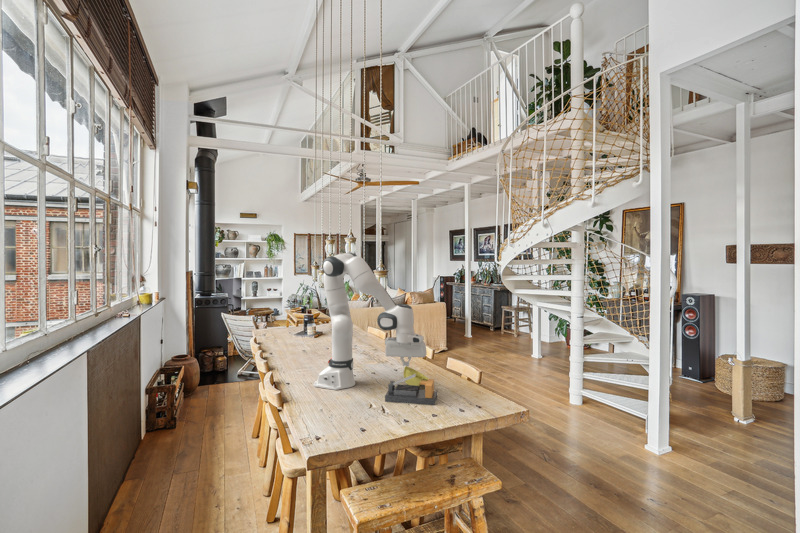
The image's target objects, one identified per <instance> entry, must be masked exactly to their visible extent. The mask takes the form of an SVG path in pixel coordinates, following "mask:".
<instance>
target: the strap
mask: <svg viewBox="0 0 800 533" xmlns="http://www.w3.org/2000/svg"><path fill="white" fill-rule="evenodd" d="M415 376H416V374H413V375H411V376H408V377H406V378H404V377H403V378H401V379H399V380H395V382H394V383H391V384H393V385H396V386H397V384H401V383H403V382H405V381H406V380H408V379H411V378H413V377H415Z"/></svg>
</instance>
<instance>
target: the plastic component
mask: <svg viewBox="0 0 800 533" xmlns="http://www.w3.org/2000/svg"><path fill="white" fill-rule="evenodd" d="M413 374H416V376H415V377H413V378H411V379H408V380H406V381H404V382H405V385H415V386H419V387H421V384H420V382H421V381H427V380H428V379H430V378H429V377H428V376H426V375H425V374H423V373H422V372H420V371H418V370H417V369H414V368H411V367H410V366H404V369H403V378H406V377H408V376H411V375H413Z"/></svg>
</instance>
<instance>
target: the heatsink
mask: <svg viewBox="0 0 800 533" xmlns="http://www.w3.org/2000/svg"><path fill="white" fill-rule="evenodd" d="M394 382H396V380H390V383H388V385H387V386H388V387H387V388H388V390H387V392H386V393H385V395H384V402H389V403H397V404H398V403H400V404H410V405H411V404H413V405H423V406H425V405H426V406H435V405H436V403H437V399H438V391H437V390H434V393H433V396H432V398H425V389H420V386H415V385H408V384H401V383H398V384H396V386H395V385H393V384H391V383H394Z"/></svg>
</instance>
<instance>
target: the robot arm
mask: <svg viewBox="0 0 800 533" xmlns="http://www.w3.org/2000/svg"><path fill="white" fill-rule="evenodd" d="M321 266H322V271H323V275H322V276H323V277H322V280H323V289H324V294H325V298H326V299H325V300H326V303H327V308H328V311H329V318H330V321H331V357H330V358H329V359H328V361H327V364H328V365H327V366H326V367H325V368H324V369H323V370H321V371H320V372H319V373H318V377H317V380H315V381H314V382H313V387H314V388H322V389H327V390H333V391H338V390H341V389H348V388H352V387H354V386H356V380H355V376H354V358H353V337H354V336H353V332H354V331H353V330H354V328H353V326H354V324H353V323H354V322H353V320H352V316H351V312H350V306H349V300H348V295H347V290H346V287H345V286H346V285H345V281H344V277H345V276H346V275H349V278H350V279H351V280H352V282H353V284H354V286H355V287H356V288H357V290H358V291H359V292H361V293H363V294H366V295H370V296H372V297H374V298H375V299H377V301H378V302H379V304H380V305H381V306H382V308H383V309H384V311H383V312H381V313H380V314H379V315H378V316H377V318H376V319H377V320H376V321H377V325H378V327H379V329H380V330H382V331H388V332H389V331H392V330H395V337H394V336H393V337H391V336H390V337H386V338H385V339H384V345H385V351H384V354H385V356H386V357H390V358H391V357H394V358H396V357H397V358H400V359H399V360H400V361H401V362H402V366H403V367H406V366H407V367H410V363H411V360H412V358H425V357H426V356H427V353H428V352H427V345H426V342H425V341H424V336H423V335H421V334H419V333H415V329H414V325H415V319H414V318H415V317H414V309H413V307H412V306H410V305H409V304H405V303H399V304H397V303H396V302H395V301H394V300H393V298H392V296H391V295H390V294H389V293H388V291H387V290H386V288H385V287H384V286H383V285H382V283H381V281H379V279H378V278H377V276H376V275H375V274H374V272H373V270H372V269H371V267H370V265H368V263H367V262H366V261H365V260H364V258H362V256H359V255H357V254H356V253H354V252H346V253H344V252H343V253H337V254H336V255H331V256H328V257H326V258H324V260H323V261H322V265H321ZM405 358H407V360H408V361H405Z"/></svg>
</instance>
